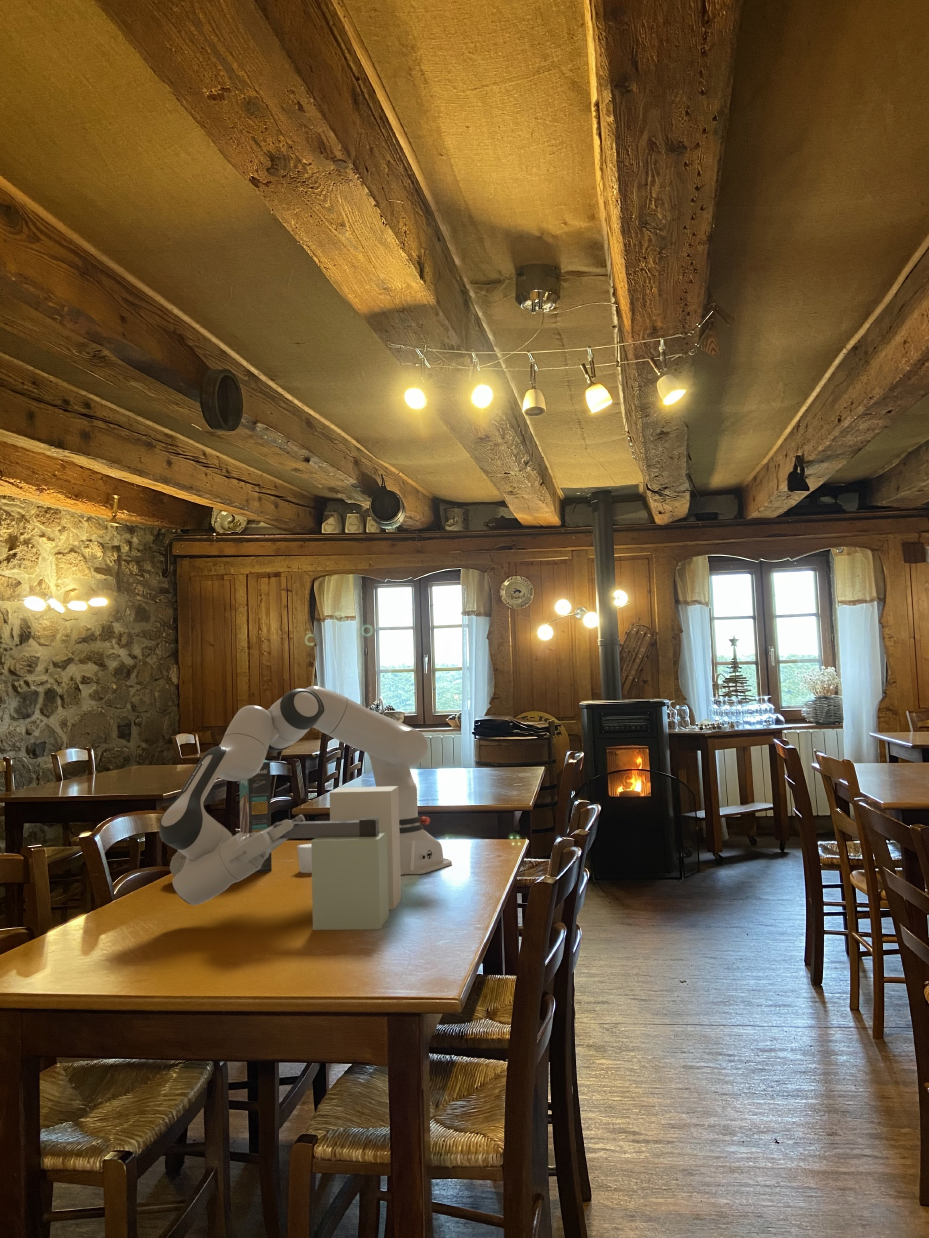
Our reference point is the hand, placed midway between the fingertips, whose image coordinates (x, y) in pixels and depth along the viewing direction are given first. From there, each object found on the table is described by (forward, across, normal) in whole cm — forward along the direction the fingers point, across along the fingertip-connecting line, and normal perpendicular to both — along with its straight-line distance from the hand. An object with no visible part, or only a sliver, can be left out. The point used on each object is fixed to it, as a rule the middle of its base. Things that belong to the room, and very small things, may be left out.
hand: (297, 820), depth 186 cm
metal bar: (+4, 0, +6) cm, 7 cm away
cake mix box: (-38, +65, +3) cm, 75 cm away
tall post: (-1, +16, +24) cm, 29 cm away
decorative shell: (-44, +44, 0) cm, 62 cm away
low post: (-1, 0, +24) cm, 24 cm away
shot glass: (-22, +56, +12) cm, 61 cm away
